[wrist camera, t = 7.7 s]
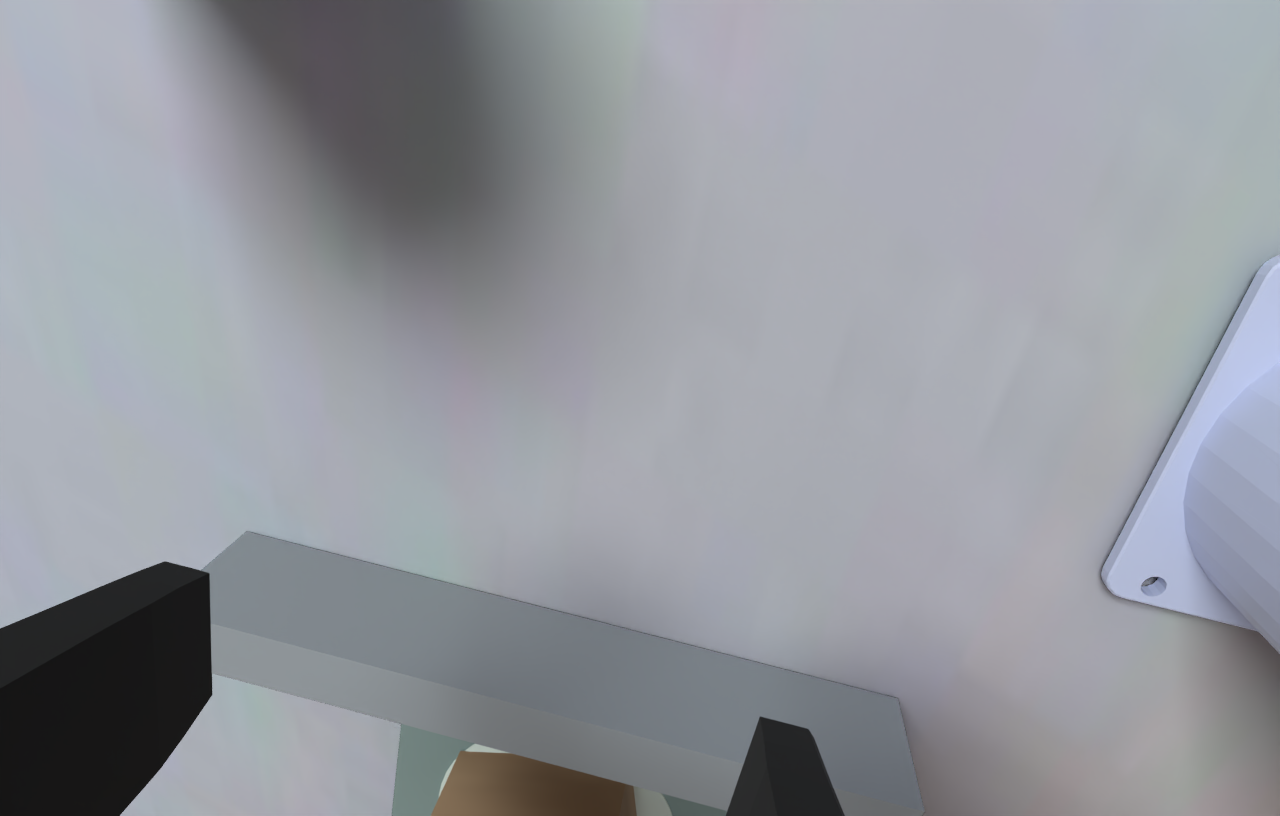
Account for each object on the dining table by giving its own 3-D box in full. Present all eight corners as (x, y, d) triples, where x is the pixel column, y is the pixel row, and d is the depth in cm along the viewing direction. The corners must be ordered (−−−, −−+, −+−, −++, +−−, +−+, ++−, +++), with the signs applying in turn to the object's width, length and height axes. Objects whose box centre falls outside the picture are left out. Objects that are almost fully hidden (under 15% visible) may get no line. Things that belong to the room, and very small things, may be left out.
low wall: (897, 698, 20) (924, 811, 17) (879, 740, 21) (902, 857, 18) (246, 531, 21) (155, 608, 18) (246, 575, 22) (158, 658, 19)
